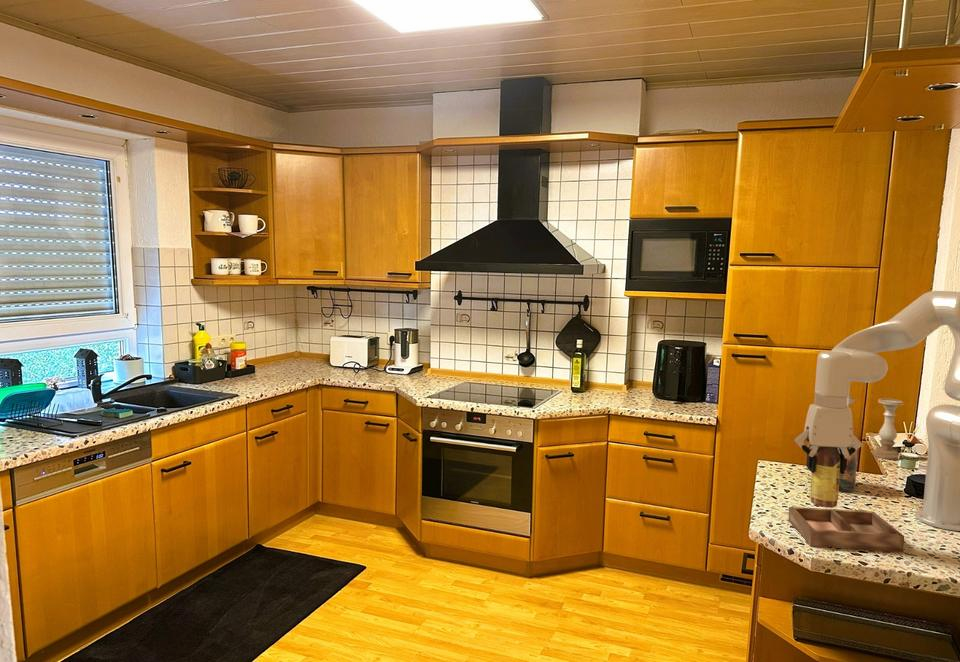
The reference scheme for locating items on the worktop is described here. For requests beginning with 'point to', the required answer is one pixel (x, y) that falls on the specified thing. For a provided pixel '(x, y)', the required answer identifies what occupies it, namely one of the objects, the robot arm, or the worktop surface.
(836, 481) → the sauce bottle
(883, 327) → the robot arm
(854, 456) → the jar
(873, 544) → the caddy
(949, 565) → the worktop surface
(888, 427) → the candle holder
